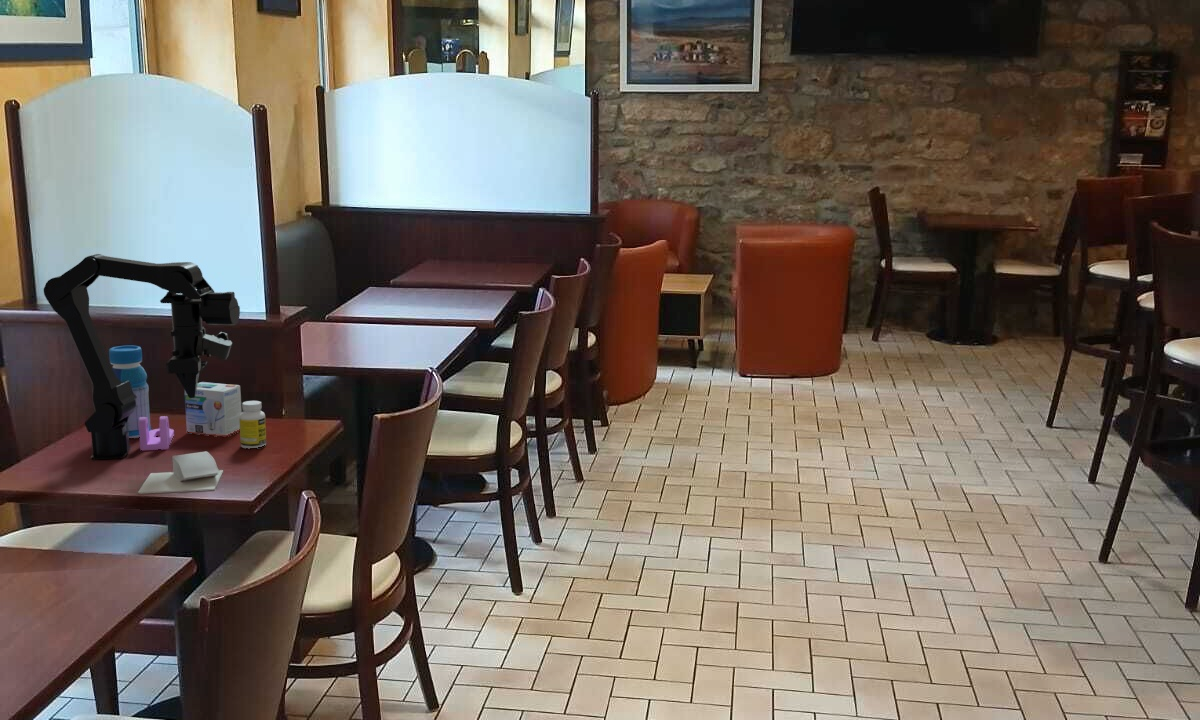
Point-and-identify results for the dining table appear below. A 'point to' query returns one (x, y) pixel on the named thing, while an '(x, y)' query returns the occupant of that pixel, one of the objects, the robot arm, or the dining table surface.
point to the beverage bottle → (132, 382)
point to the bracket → (155, 434)
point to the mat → (177, 483)
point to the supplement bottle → (252, 425)
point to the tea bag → (194, 466)
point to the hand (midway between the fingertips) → (192, 397)
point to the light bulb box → (214, 409)
